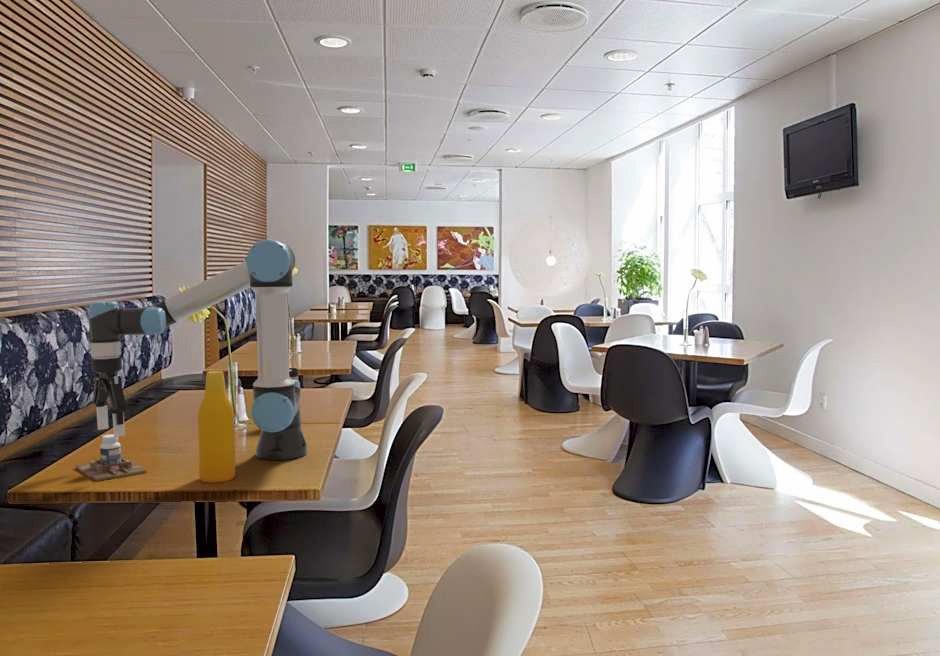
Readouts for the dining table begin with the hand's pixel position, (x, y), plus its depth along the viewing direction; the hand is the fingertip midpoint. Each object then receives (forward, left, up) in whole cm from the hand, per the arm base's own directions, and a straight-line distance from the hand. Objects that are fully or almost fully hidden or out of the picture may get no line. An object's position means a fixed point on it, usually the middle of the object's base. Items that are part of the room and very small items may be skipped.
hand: (111, 432), depth 212 cm
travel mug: (+24, -69, -11) cm, 74 cm away
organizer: (0, 0, -11) cm, 11 cm away
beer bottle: (-28, -18, -11) cm, 35 cm away
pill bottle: (0, 0, -10) cm, 10 cm away
